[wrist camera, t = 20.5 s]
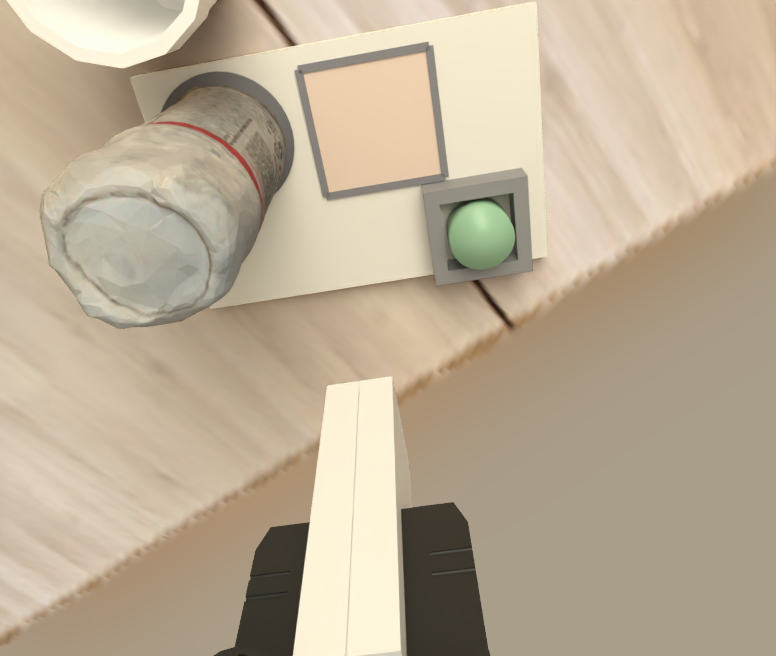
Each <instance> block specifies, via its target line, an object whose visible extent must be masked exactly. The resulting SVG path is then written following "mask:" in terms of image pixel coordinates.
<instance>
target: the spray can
mask: <svg viewBox="0 0 776 656" xmlns="http://www.w3.org/2000/svg"><path fill="white" fill-rule="evenodd" d="M285 151H286V141H285V137H284V134H283V132H282V130H281V127H280V126H279V123H278V121H277V119H276V117H275V116H274V114H273V113H272V112H271V111H270V110H269V108H268V107H267V106H265V105H264V104H262V102H260V101H259V100H257V99H256V98H255V97H254V96H252V95H250V94H249V93H246V92H244V91H241V90H238V89H236V88H234V87H231V86H208V87H193V88H192V89H190V90H189V91H188V92H186V93H185V94H184V95H183V96H182V97H180V98H178V100H177V102H176V104H175V105H173V106H171V107H169V108H168V109H166V110H165V111H164V112H161V113H159V114H157V115H156V116H155V117H153V118H152V119H150V120H149V121H147V122H145V123H143V124H142V125H140V126H136V127H133V128H130V129H127V130H124V131H122V132H120V133H119V134H117V135H115V136H113V137H112V138H111V139H110V140H108V141H107V142H106V143H105V144H104V146H103V147H102V148H99V149H96V150H93V151H90V152H87V153H84V154H81V155H80V156H79V157H78V158H77V159H75V160H73V161H72V162H71V163H70V164H69V165H68V166H67V167H66V168H65V170H64V171H63V172H62V173H61V174H60V175H59V176H58V177H57V178H56V179H55V180H54V181H53V183H52V184H51V185H50V186H49V187H48V188H47V189H46V190H44V191H43V192H42V196H41V205H40V220H41V224H42V228H43V233H44V238H45V243H46V248H47V253H48V260H49V265H50V266H51V267H52V268H54V269H55V270H56V272H57V273H58V274H59V276H60V277H61V278H62V280H63V281H64V282H65V283H66V285H67V286H68V287H69V289H70V290H71V291H72V293H73V294H74V295H75V297H76V298H77V300H78V302H79V304H80V305H81V307H82V309H83V310H84V311H85V313H86V314H87V315H88V316H90V317H93V318H97V319H100V320H102V321H104V322H106V323H108V324H110V325H112V326H114V327H116V328H120V329H125V328H130V327H148V326H155V325H163V324H168V323H173V322H179V321H182V320H184V319H186V318H188V317H190V316H192V315H194V314H195V313H197V312H199V311H201V310H203V309H205V308H207V307H209V306H211V305H212V304H214V303H215V302H217V301H219V300H220V299H221V298H223V297H224V296H225V295H226V294H227V293H228V292H229V291H230V289H231V288H232V286H233V284H234V282H235V280H236V278H237V276H238V273H239V271H240V268H241V265H242V263H243V262H244V260H245V259H246V258H247V256H248V255H249V253H250V252H251V250H252V248H253V246H254V244H255V241H256V238H257V236H258V233H259V231H260V229H261V226H262V223H263V221H264V217H265V215H266V212H267V210H268V207H269V205H270V203H271V200H272V198H273V195H274V192H275V190H276V189H277V186H278V183H279V180H280V178H281V175H282V173H283V167H284V157H285Z"/></svg>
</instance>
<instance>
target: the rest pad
mask: <svg viewBox="0 0 776 656" xmlns="http://www.w3.org/2000/svg"><path fill="white" fill-rule="evenodd" d="M208 86H231V87H234V88H236V89H238V90H241V91H244V92H246V93H249V94H250V95H252V96H254V97H255V98H256V99H257V100H259V101H260V102H262V104H264V105H265V106H267V107H268V108H269V110H270V111H271V112H272V113H273V114H274V116H275V117H276V119H277V121H278V123H279V126H280V127H281V130H282V132H283V134H284V137H285V141H286V151H285V157H284V167H283V173H282V175H281V178H280V180H279V183H278V186H277V189H276V190H275V192H274V194H275V193H276V192H277V191H278V190H279V189H280V188H281V187H282V185H283V184H284V182H285V181H286V179H287V177H288V175H289V173H290V170H291V167H292V164H293V159H294V150H295V149H294V137H293V131H292V128H291V125H290V122H289V120H288V117H287V115H286V113H285V111H284V110H283V108H282V106H281V105H280V104H279V102H278V101H277V100H276V98H275V97H274V96H273V95H272V94H271V93H270V92H269V91H267V90H266V89H265V88H264V87H262V86H261V85H260V84H258V83H256V82H255V81H253V80H251V79H249V78H247V77H245V76H242V75H239V74H235V73H230V72H219V71H215V72H207V73H203V74H199V75H196V76H194V77H192V78H190V79H188V80H186V81H185V82H183V83H181V84H180V85H179V86H178V87H177V88H176V89H174V91H173V92H172V93H171V94H170V95H169V97H168V98H167V100H166V102H165V103H164V105H163V108H162V110H161V112H164V111H165V110H166V109H168V108H169V107H171V106H173V105H175V104H176V102H177V100H178V98H180V97H182V96H183V95H184V94H185V93H186V92H188V91H189V90H190V89H192V88H193V87H208Z"/></svg>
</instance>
